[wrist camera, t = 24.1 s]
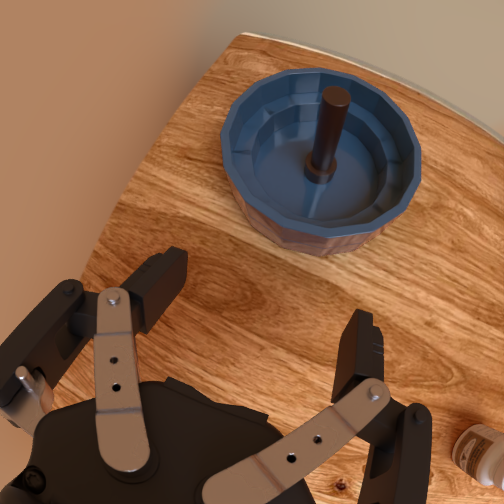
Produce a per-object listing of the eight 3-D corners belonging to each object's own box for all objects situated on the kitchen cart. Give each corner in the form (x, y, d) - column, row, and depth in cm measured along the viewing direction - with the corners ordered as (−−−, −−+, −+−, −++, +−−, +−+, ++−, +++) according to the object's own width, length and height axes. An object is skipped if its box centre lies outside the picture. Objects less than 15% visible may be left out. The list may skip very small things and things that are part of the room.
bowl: (243, 269, 22) (232, 252, 17) (226, 120, 25) (215, 79, 20) (413, 243, 21) (446, 221, 16) (368, 106, 25) (382, 67, 19)
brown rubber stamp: (307, 186, 23) (320, 113, 14) (301, 160, 23) (309, 81, 14) (337, 183, 22) (364, 111, 14) (330, 157, 23) (350, 80, 14)
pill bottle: (455, 429, 17) (506, 457, 10) (490, 417, 17) (542, 436, 10) (446, 471, 16) (489, 505, 9) (481, 457, 16) (527, 483, 9)
